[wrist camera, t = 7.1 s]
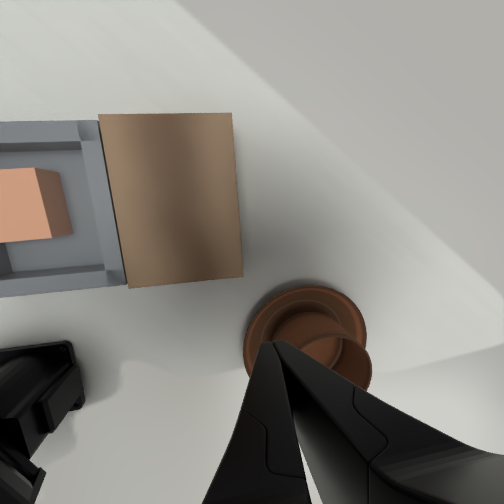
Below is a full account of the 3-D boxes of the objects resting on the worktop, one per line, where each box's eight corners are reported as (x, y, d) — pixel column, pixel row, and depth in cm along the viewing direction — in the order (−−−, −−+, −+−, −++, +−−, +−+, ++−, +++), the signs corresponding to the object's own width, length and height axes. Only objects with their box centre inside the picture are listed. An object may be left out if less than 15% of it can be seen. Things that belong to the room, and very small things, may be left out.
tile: (52, 237, 16) (73, 233, 19) (33, 167, 15) (58, 172, 18) (-25, 244, 16) (7, 239, 18) (-48, 172, 15) (-11, 176, 17)
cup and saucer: (361, 368, 26) (405, 417, 20) (256, 403, 25) (269, 465, 19) (347, 265, 24) (392, 286, 18) (227, 298, 22) (232, 333, 16)
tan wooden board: (144, 272, 21) (128, 288, 17) (122, 133, 18) (97, 114, 14) (238, 263, 22) (243, 276, 18) (228, 130, 19) (231, 112, 16)
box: (6, 286, 19) (-32, 300, 16) (-37, 136, 17) (-89, 122, 14) (138, 273, 21) (126, 284, 18) (115, 133, 18) (96, 120, 15)
